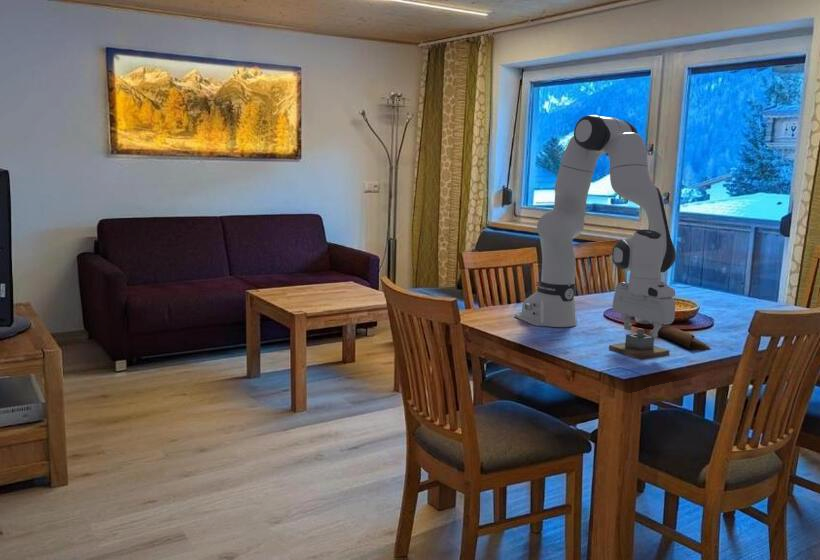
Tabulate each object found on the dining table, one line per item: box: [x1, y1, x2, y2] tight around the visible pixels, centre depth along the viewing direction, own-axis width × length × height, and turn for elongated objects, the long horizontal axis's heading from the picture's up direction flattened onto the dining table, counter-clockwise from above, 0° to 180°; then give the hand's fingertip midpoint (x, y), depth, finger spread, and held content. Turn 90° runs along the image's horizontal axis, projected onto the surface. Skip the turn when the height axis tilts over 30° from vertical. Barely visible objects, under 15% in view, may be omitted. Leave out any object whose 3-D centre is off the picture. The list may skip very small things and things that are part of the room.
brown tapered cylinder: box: [657, 326, 712, 352], centre depth 223 cm, size 18×7×7 cm
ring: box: [624, 332, 655, 351], centre depth 210 cm, size 6×6×4 cm
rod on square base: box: [608, 327, 670, 360], centre depth 210 cm, size 12×12×7 cm
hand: (640, 333), depth 210 cm, fingers open, 8 cm apart
